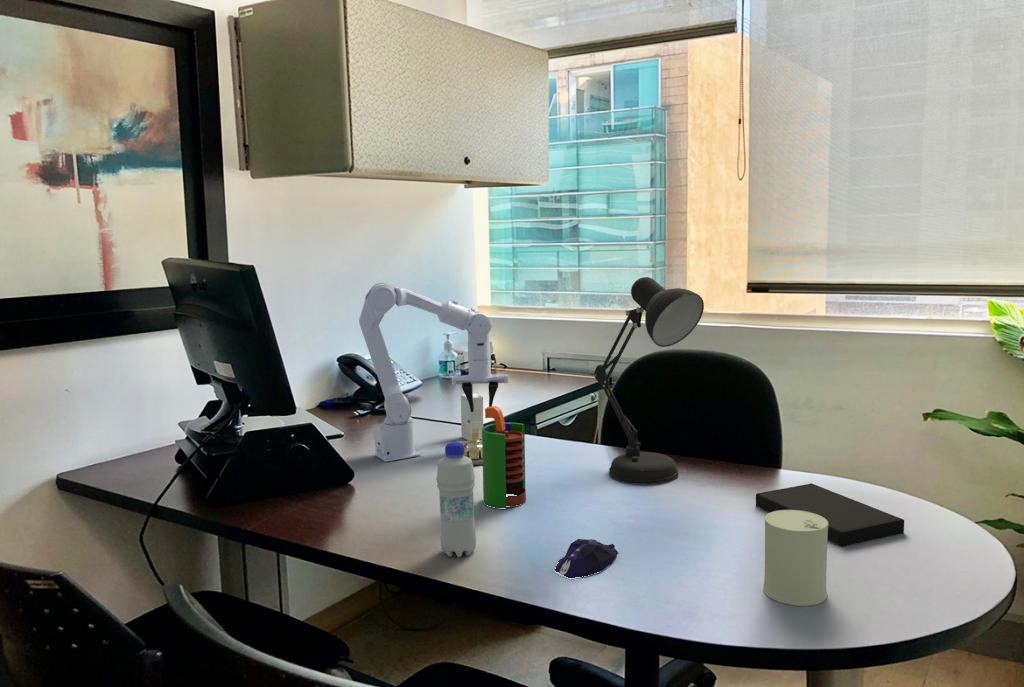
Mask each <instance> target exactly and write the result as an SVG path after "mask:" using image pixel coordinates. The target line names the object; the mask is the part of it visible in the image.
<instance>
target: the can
mask: <svg viewBox="0 0 1024 687" xmlns="http://www.w3.org/2000/svg"><path fill="white" fill-rule="evenodd" d="M827 536H828V521H827V520H826V519H825V518H824V517H822V516H820V515H817V514H814V513H811V512H806V511H800V510H779V511H773V512H770V513H769V512H767V514H766V515H764V578H763V586H762V589H763V592H764V594H765V595H766V596H767V597H769V598H770V599H771V600H773V601H775V602H778V603H782V604H784V605H789V606H790V605H791V606H794V607H795V606H796V607H797V606H798V607H809V606H810V607H811V606H817V605H819V604H822V603H824V602H825V601H826V600H827V598H828V592H827V566H828V564H827V563H828V562H827V561H828V557H827V556H828V540H827Z"/></svg>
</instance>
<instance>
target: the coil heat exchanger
mask: <svg viewBox="0 0 1024 687" xmlns="http://www.w3.org/2000/svg"><path fill="white" fill-rule="evenodd" d="M484 418H485V419H494V421H495V423H491V424H486V425H483V428H482V457H483V465H482V491H483V492H482V494H483V497H482V498H483V500H482V501H483V504H484V503H485V504H486V505H488V506H491V507H495V508H494V509H496V508H506V509H507V507H506V506H516V505H520V504H523V503H524V502H525V501H526V502H527V489H526V460H525V459H526V449H525V448H526V446H525V442H526V441H525V439H526V438H525V437H526V436H525V423H520V422H505V418H504V414H503V412H502V409H501V408H500V407H499V406H497V405H494V406H493V405H492V407H489V406H488V407H485V408H484ZM506 494H514V495H517V496H508V497H506ZM526 502H525V503H526ZM525 503H524V504H525ZM485 504H484V505H485ZM524 504H523V505H524ZM486 505H485V506H486ZM488 506H487V507H488ZM520 506H521V505H520ZM491 507H490V508H491ZM516 507H517V506H516Z"/></svg>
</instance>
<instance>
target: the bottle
mask: <svg viewBox="0 0 1024 687" xmlns="http://www.w3.org/2000/svg"><path fill="white" fill-rule="evenodd" d="M444 447H445V448H444V455H445V457H443V458H440V460H438V461H437V471H436V472H437V473H436V483H437V485H436V487H437V489H438V490H439V512H440V516H439V517H440V531H439V532H440V535H439V536H440V547H441V550H442V553H444V554H446V555H447V556H448V557H453V555H454V553H455V554H456V557H457V558H461V557H462V555H463V553H465V555H466V556H470V555H471V554H472V552H473V551H475V549H476V545H477V534H476V530H477V529H476V522H475V510H474V509H475V508H474V507H475V503H474V502H475V501H474V487H475V485H476V483H475V479H476V476H475V472H474V466H473V464H472V460H471V459H470V458H468V457H466V456H464V453H465V449H464V445H463V444H462V443H460V442H458V441H452V442H448V443H446V445H445V446H444Z"/></svg>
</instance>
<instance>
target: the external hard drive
mask: <svg viewBox="0 0 1024 687" xmlns="http://www.w3.org/2000/svg"><path fill="white" fill-rule="evenodd" d="M755 507H757V508H759V509H761V510H763V511H765V512H767V513H770V512H773V511H779V510H800V511H806V512H811V513H814V514H817V515H820V516H822V517H824V518H825V519H826V520H827V521H828V536H827V542H830V543H832V544H834V545H837V546H839V547H841V548H842V547H848V546H853V545H857V544H861V543H866V542H871V541H876V540H880V539H884V538H888V537H894V536H898V535H902V534H905V519H903V518H900V517H898V516H896V515H893V514H891V513H889V512H885V511H883V510H880V509H879V508H875V507H873V506H870V505H868V504H865V503H863V502H861V501H858V500H855V499H853V498H850V497H848V496H846V495H842V494H839V493H837V492H835V491H832V490H830V489H827V488H824V487H822V486H819V485H816V484H814V483H813V482H812V483H807V484H800V485H796V486H789V487H786V488H780V489H774V490H773V489H772V490H769V491H764V492H763V491H762V492H757V493H756V494H755Z"/></svg>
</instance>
